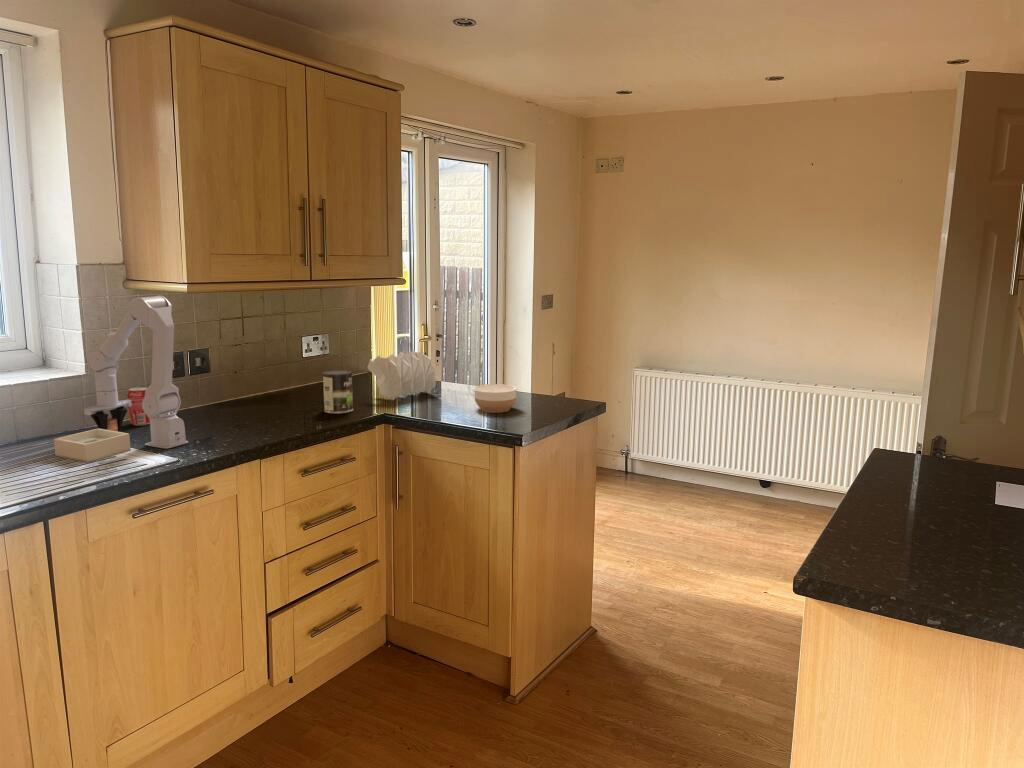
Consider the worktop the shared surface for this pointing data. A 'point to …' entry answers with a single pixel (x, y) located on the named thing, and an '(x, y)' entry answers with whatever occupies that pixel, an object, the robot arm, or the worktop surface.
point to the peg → (112, 424)
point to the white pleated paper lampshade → (403, 374)
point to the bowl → (495, 397)
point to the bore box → (92, 445)
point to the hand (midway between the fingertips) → (110, 433)
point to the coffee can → (337, 391)
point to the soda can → (137, 406)
